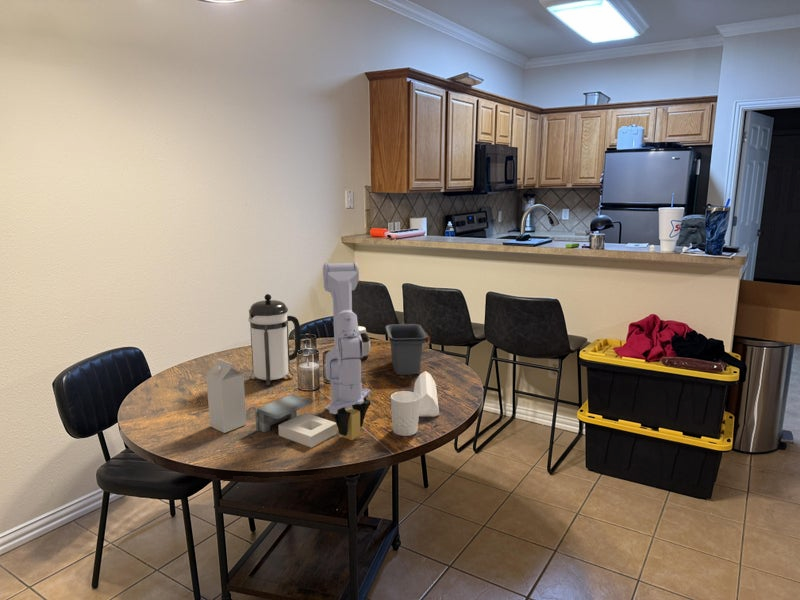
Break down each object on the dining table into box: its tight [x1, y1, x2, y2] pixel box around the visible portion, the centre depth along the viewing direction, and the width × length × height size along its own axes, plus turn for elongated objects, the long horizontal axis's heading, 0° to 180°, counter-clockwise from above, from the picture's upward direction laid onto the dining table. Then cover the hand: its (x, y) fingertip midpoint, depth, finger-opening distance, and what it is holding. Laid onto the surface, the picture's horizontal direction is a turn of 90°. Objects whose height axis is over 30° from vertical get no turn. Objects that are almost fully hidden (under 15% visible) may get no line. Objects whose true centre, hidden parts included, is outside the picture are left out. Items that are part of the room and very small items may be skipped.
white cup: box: [390, 390, 420, 437], centre depth 147 cm, size 8×8×10 cm
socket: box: [278, 412, 338, 448], centre depth 145 cm, size 10×12×3 cm
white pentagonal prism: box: [413, 370, 440, 417], centre depth 166 cm, size 7×7×24 cm
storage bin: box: [385, 323, 431, 376], centre depth 198 cm, size 21×16×14 cm
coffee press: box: [248, 293, 302, 387], centre depth 185 cm, size 17×16×30 cm
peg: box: [341, 408, 361, 441], centre depth 144 cm, size 4×4×7 cm
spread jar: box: [358, 325, 371, 360], centre depth 209 cm, size 12×11×12 cm
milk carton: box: [205, 357, 247, 434], centre depth 148 cm, size 7×7×19 cm
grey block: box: [254, 393, 313, 433], centre depth 150 cm, size 13×9×7 cm
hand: (351, 430), depth 144 cm, fingers open, 6 cm apart
